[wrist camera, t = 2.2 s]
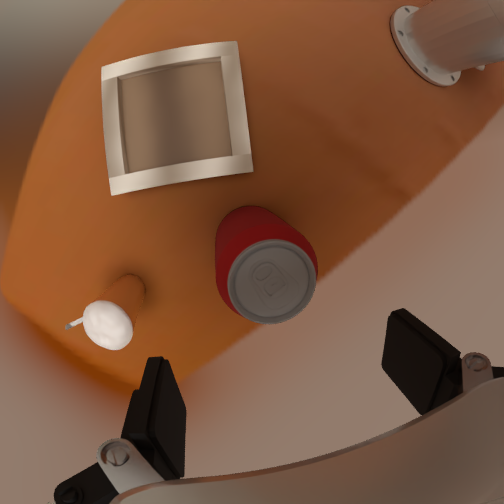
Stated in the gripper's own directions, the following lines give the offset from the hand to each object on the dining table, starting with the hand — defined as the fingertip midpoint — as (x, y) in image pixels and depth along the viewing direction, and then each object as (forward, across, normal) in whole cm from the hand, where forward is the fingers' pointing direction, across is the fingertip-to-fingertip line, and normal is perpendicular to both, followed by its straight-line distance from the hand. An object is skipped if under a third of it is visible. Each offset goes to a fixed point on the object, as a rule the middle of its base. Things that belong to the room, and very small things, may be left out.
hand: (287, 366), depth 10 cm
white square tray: (+18, +4, -14) cm, 23 cm away
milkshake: (+19, +12, +2) cm, 23 cm away
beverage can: (+19, -1, -1) cm, 19 cm away
